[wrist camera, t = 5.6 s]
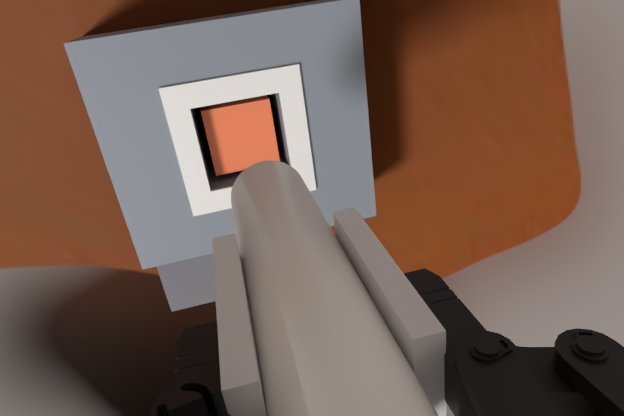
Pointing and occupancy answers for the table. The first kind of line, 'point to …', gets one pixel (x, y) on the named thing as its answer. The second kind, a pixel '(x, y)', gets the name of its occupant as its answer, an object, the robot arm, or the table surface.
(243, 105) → the orange rectangular tile
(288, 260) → the stylus
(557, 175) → the table surface
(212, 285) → the pad
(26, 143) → the table surface
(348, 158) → the panel
